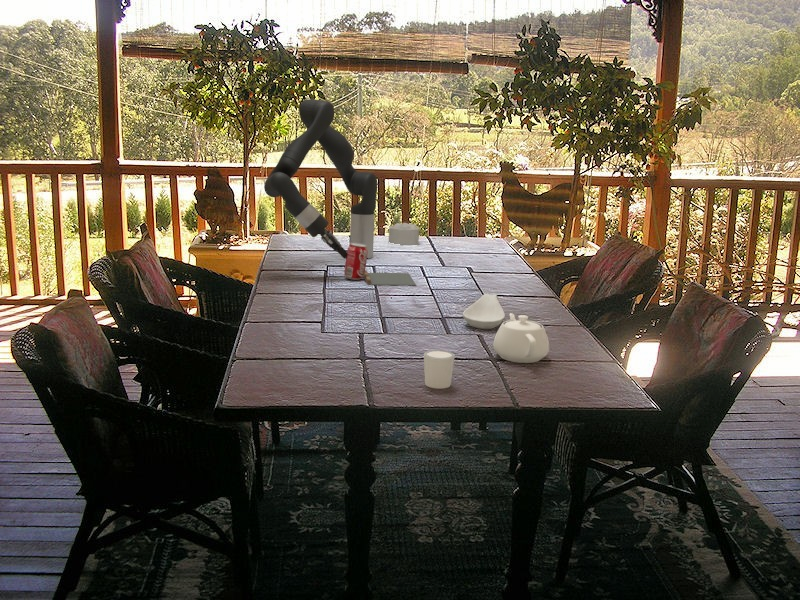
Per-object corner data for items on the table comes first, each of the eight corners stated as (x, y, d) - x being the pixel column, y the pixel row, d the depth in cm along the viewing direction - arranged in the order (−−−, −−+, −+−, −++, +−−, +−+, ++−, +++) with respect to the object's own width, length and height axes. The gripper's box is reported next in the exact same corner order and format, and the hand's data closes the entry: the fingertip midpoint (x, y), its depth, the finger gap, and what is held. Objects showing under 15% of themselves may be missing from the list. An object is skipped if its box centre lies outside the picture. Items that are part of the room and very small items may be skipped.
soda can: (365, 277, 303) (370, 244, 300) (362, 282, 296) (367, 247, 294) (345, 274, 304) (350, 240, 301) (341, 278, 297) (346, 244, 294)
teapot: (559, 370, 206) (563, 326, 204) (503, 370, 204) (506, 326, 202) (534, 344, 227) (537, 304, 225) (482, 344, 225) (485, 304, 223)
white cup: (418, 386, 190) (419, 356, 189) (428, 377, 197) (429, 348, 195) (447, 391, 188) (449, 360, 186) (457, 382, 194) (458, 352, 193)
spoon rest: (501, 334, 237) (503, 309, 235) (459, 330, 239) (460, 305, 238) (510, 314, 260) (511, 291, 258) (471, 311, 262) (472, 288, 260)
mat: (366, 273, 311) (367, 272, 310) (408, 274, 312) (408, 273, 312) (371, 285, 291) (371, 284, 291) (416, 286, 293) (416, 284, 293)
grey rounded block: (418, 246, 374) (419, 226, 372) (388, 245, 374) (388, 225, 372) (418, 242, 384) (419, 222, 382) (388, 241, 384) (389, 221, 382)
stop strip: (363, 274, 309) (363, 270, 309) (366, 274, 310) (366, 270, 309) (367, 284, 292) (367, 280, 292) (370, 284, 292) (370, 280, 292)
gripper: (320, 215, 287) (356, 252, 291) (319, 210, 300) (353, 246, 304) (303, 230, 288) (339, 267, 292) (303, 225, 301) (338, 260, 305)
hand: (346, 256), depth 298 cm, fingers closed
